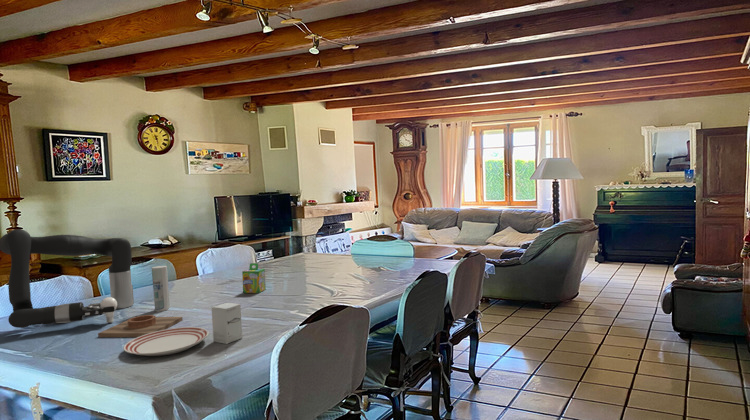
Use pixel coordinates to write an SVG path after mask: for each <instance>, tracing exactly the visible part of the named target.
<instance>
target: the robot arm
mask: <svg viewBox="0 0 750 420" xmlns="http://www.w3.org/2000/svg"><path fill="white" fill-rule="evenodd" d="M0 251H1V252H2V253H4V254H6V255H10V261H11V263H10V265H11V266H10V273H9V277H8V285H7V286H8V300H9V303H10V304H11V306H12V312H11V313H10V315H9V316H8V321H7V322H8V324H9V325H11V326H12V327H13V328H17V329H18V328H19V329H25V328H28V327H31V326H37V325H53V324H65V323H71V322H80V321H83V320H84V317H85V318H89V317H95V316H102V315H103V314H104V315H105V313H107V312H114V313H115V311H116V310H117V309H125V308H130V307H132V306H134V304H135V299H134V298H135V297H134V287H133V284H132V274H131V273H132V272H131V266H132V262H133V261H132V258H133V257H132V245H131V243H130V241H129V240H128V239H126V238H123V237H122V238H121V237H120V238H119V237H114V238H91V237H87V236H82V235H78V234H77V235H76V234H56V235H47V236H45V235H44V236H31V234H30V233H29V232H28V231H27V230H24V229H21V228H16V229H13V230H10V231H8V232H7V233H5V234H3V235H2V236H1V237H0ZM34 254H35V255H36V254H37V255H38V254H39V255H49V256H50V255H52V256H63V257H64V256H65V257H67V256H68V257H69V256H70V257H75V256H77V257H78V256H79V257H80V256H89V255H98V256H99V255H100V256H105V257H111V264H110V265H109V266H108V277H109V279H108V280H109V290H110V291H109V292H110V297H112V298H114V299H115V300H116V301H117V307H116V309H115V308H114V306H111V307H100V303H101V302H97V303H90V304H88V305H87V306H84V302H82V301H80V302H72V303H70V302H69V303H62V304H59V305H58V304H57V305H53V306H45V307H37V308H36V307H35V308H34V306H33V303H32V300H31V299H32V296H31V283H30V258H31V255H34Z"/></svg>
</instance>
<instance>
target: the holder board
mask: <svg viewBox="0 0 750 420" xmlns="http://www.w3.org/2000/svg"><path fill="white" fill-rule="evenodd" d="M182 321H183V316H156V315H153V314H145V315H144V314H143V315H139V316H137V315H136V316H134V317H131V318H128V319H127V320H125V321H123V322H120V323H118V324H116V325H114V326H113V325H112V327H109V328H107V329H105V330H102V331H100V332H98V333H97V335H98V338H137V337H140V336H142V335H145V334H149V333H152V332H156V331H161V330H166V329H170V328H172V326H175V325H176V324H179V323H180V322H182Z"/></svg>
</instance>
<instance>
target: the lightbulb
mask: <svg viewBox="0 0 750 420" xmlns="http://www.w3.org/2000/svg"><path fill="white" fill-rule="evenodd" d="M99 303H100V307H111V306H114V308H115V310H117V309H116V307H117V301H116V300H115V299H114V298H112V297H111V296H108V297H105V298H103V299H102V300H101V302H99ZM114 315H115V311H114V312H107V313H104V316H105V319H106V323H108V324H112V323H113V322H114Z"/></svg>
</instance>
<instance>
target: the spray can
mask: <svg viewBox="0 0 750 420" xmlns="http://www.w3.org/2000/svg"><path fill="white" fill-rule="evenodd" d="M168 274H169V273H168V266H167V265H157V266H152V267H151V276H152V277H151V278H152V288H153V291H152V292H153V301H154V303H153V304H154V311H155V312H164V311H165V310H166V311H168V309H169V308H171V307H170V296H169V295H170V293H169V292H170V291H169V279H168V278H169V276H168ZM169 310H170V309H169Z"/></svg>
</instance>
